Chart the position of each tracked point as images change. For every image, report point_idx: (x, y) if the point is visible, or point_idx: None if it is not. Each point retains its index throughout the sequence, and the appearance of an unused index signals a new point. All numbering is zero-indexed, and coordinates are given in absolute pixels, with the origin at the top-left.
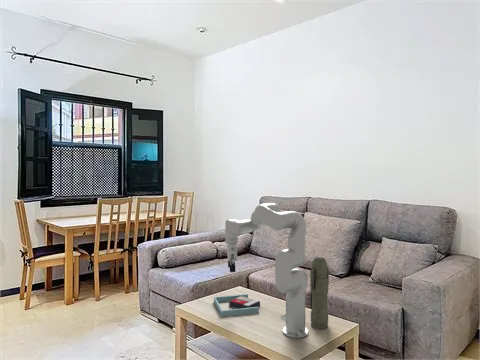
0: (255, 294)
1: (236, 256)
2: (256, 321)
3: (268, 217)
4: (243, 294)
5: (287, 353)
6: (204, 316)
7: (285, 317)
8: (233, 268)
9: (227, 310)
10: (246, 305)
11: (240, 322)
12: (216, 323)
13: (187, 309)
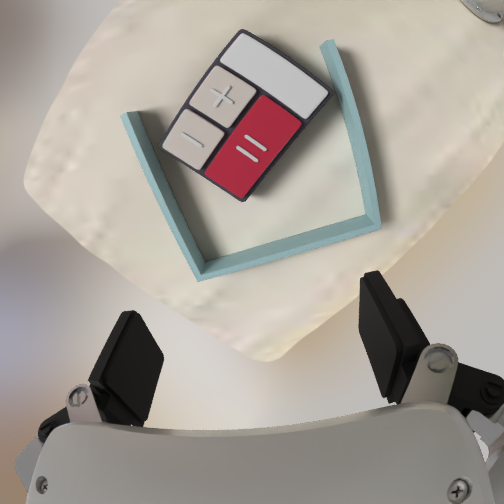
0: (75, 92)
1: (491, 497)
2: (421, 73)
3: None
4: (131, 137)
5: None
6: None
7: None
8: (414, 326)
9: (376, 202)
10: (321, 102)
11: (429, 140)
12: (425, 232)
13: (290, 340)
